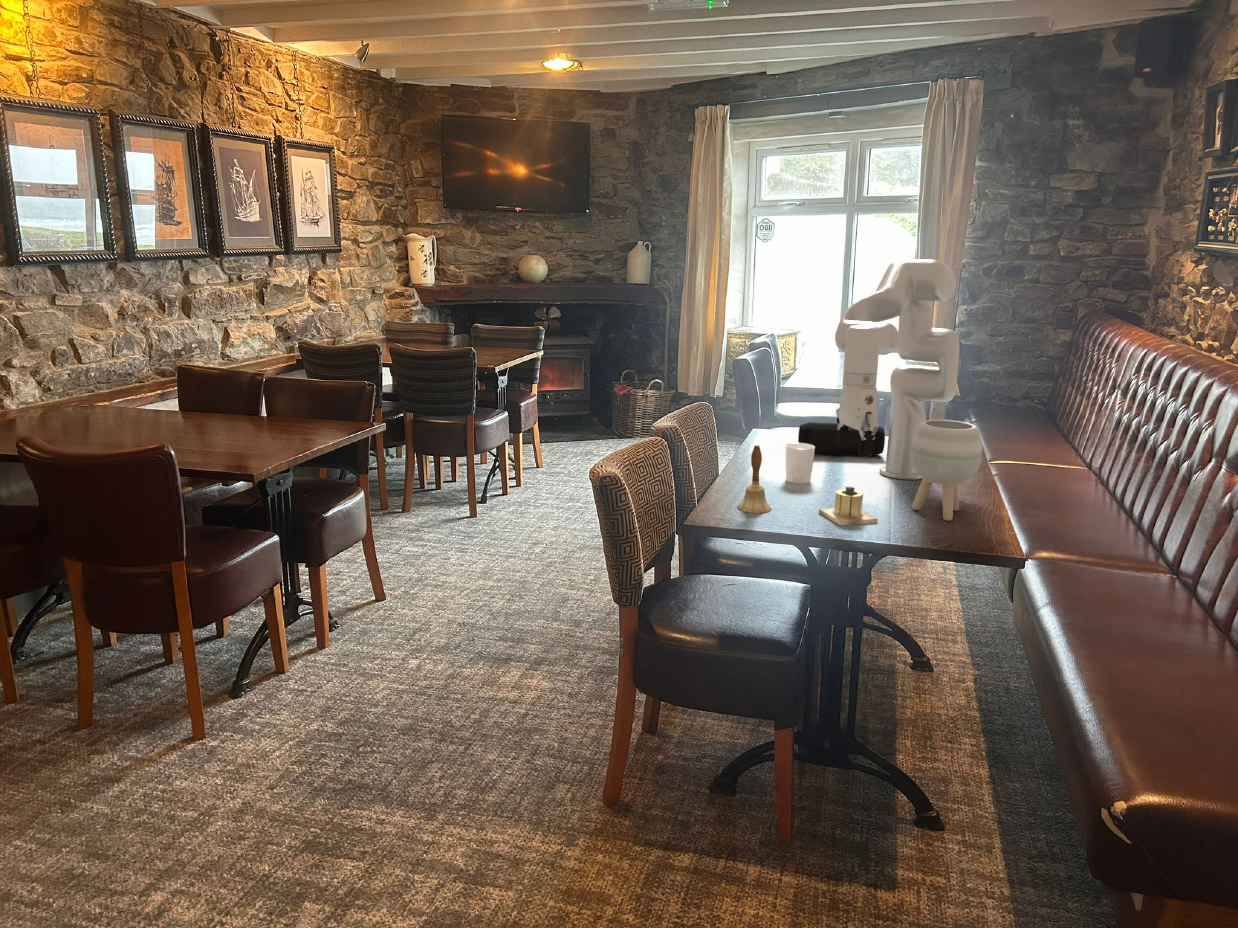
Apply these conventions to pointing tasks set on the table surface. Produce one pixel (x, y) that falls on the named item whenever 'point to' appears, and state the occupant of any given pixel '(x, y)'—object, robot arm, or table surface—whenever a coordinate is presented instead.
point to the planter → (945, 459)
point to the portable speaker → (827, 437)
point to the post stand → (845, 520)
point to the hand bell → (755, 488)
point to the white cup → (799, 462)
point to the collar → (848, 503)
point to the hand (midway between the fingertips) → (854, 451)
